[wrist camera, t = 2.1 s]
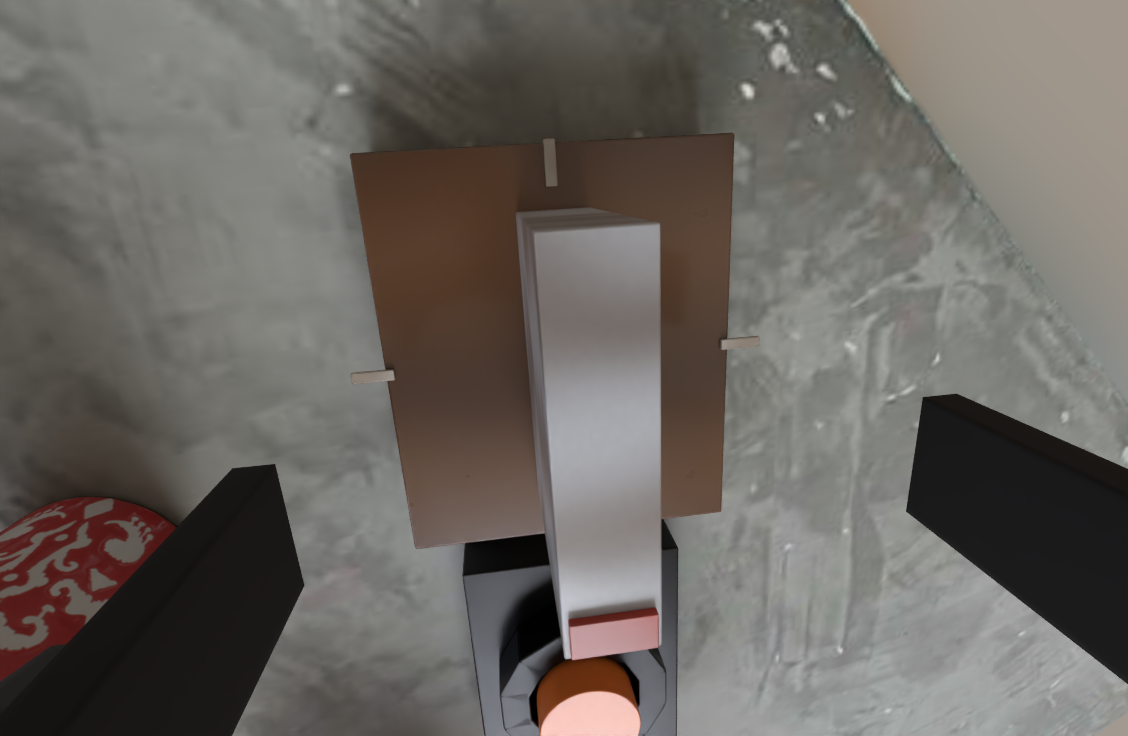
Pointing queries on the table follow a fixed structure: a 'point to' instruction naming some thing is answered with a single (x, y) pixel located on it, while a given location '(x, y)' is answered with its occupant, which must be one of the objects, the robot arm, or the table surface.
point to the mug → (67, 569)
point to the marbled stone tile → (597, 420)
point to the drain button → (587, 700)
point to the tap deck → (496, 317)
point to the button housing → (551, 636)
